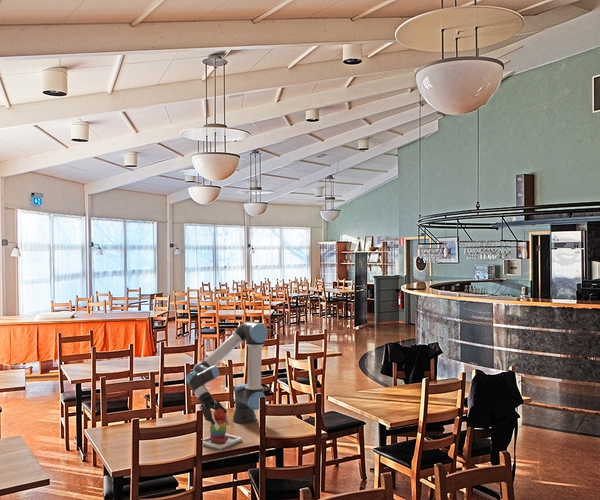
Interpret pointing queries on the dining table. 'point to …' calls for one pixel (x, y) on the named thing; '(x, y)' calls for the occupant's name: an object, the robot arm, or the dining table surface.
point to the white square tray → (220, 446)
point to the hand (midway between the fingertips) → (223, 426)
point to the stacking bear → (219, 434)
